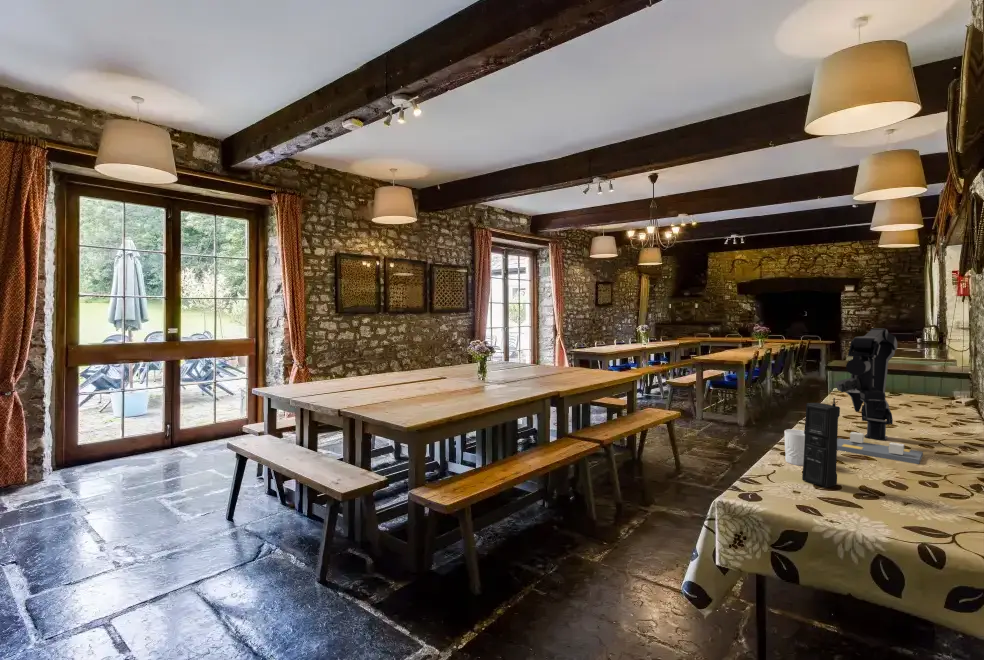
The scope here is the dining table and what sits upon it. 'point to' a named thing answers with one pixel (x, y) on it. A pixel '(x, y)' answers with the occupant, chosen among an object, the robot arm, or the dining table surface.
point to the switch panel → (878, 451)
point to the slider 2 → (896, 448)
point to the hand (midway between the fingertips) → (862, 414)
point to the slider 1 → (856, 437)
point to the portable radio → (821, 444)
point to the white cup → (794, 446)
